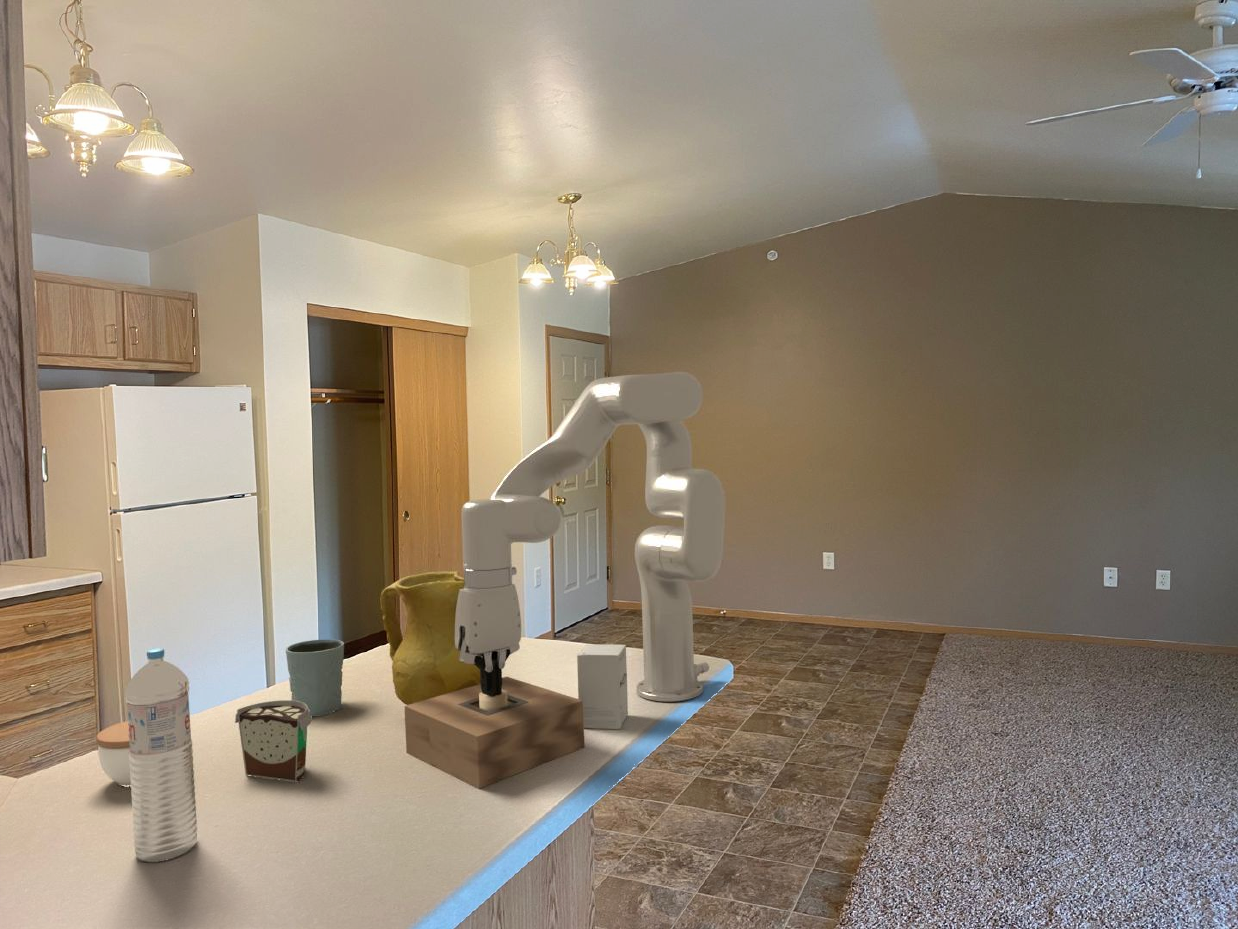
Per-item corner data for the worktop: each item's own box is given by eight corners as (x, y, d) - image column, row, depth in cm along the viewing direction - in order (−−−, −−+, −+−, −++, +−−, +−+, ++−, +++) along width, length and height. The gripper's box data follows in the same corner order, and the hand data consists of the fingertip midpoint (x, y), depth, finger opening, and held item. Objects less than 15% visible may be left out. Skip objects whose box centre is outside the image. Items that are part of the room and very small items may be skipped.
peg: (497, 730, 133) (496, 687, 133) (514, 736, 130) (512, 693, 130) (475, 737, 130) (473, 694, 130) (491, 744, 127) (489, 700, 127)
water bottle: (151, 838, 105) (140, 644, 104) (207, 834, 105) (196, 641, 104) (123, 866, 98) (111, 659, 97) (183, 862, 98) (171, 656, 97)
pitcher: (423, 739, 136) (416, 589, 135) (374, 712, 150) (368, 576, 149) (510, 713, 147) (504, 574, 146) (457, 690, 161) (451, 564, 160)
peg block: (508, 718, 144) (506, 676, 144) (584, 747, 130) (582, 700, 130) (406, 752, 130) (404, 705, 130) (479, 789, 116) (477, 736, 116)
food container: (332, 767, 126) (329, 702, 125) (304, 783, 120) (301, 716, 119) (267, 759, 130) (264, 696, 129) (237, 774, 124) (234, 709, 123)
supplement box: (621, 730, 137) (618, 655, 136) (578, 728, 138) (575, 654, 138) (629, 715, 144) (627, 643, 143) (588, 713, 145) (585, 643, 145)
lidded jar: (99, 801, 116) (95, 736, 116) (99, 776, 125) (95, 715, 125) (184, 782, 122) (180, 719, 121) (179, 759, 131) (175, 701, 131)
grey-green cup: (276, 715, 150) (273, 650, 150) (316, 697, 160) (313, 636, 159) (320, 720, 146) (317, 654, 146) (358, 702, 156) (355, 640, 155)
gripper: (511, 569, 137) (515, 678, 137) (433, 582, 126) (437, 700, 127) (540, 574, 131) (543, 687, 132) (461, 588, 121) (465, 711, 122)
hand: (491, 693), depth 129 cm, fingers closed
